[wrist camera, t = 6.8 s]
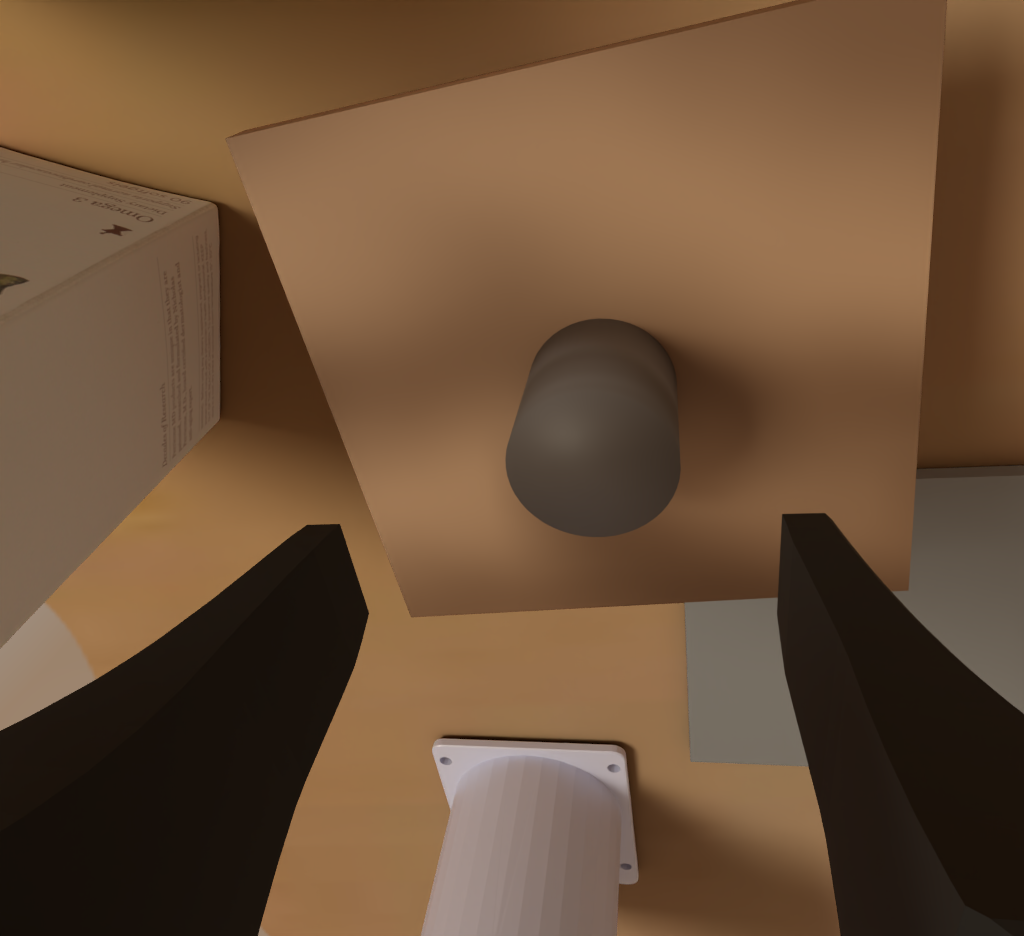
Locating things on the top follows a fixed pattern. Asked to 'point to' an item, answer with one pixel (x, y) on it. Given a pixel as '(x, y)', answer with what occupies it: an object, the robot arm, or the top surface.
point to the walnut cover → (624, 304)
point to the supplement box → (95, 361)
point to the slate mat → (931, 597)
